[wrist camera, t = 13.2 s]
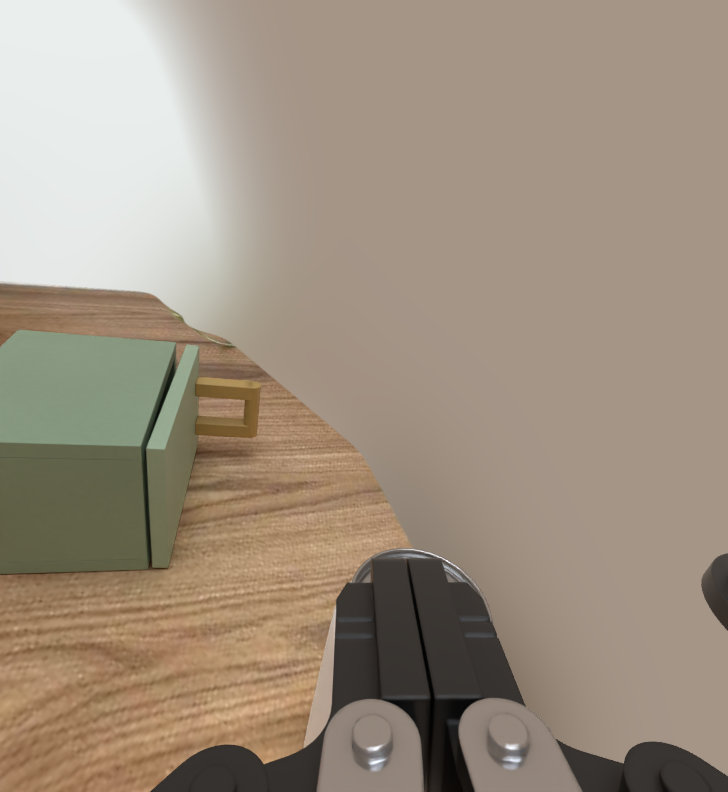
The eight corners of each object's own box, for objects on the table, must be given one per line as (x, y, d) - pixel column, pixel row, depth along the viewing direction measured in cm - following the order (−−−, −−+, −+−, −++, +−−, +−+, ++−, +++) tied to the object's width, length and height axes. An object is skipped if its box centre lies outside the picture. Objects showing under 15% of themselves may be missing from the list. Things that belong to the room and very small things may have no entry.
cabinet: (177, 443, 43) (176, 342, 38) (147, 570, 31) (140, 446, 27) (38, 439, 40) (18, 329, 36) (-51, 576, 29) (-99, 439, 24)
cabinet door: (255, 446, 45) (263, 351, 40) (247, 567, 33) (257, 453, 28) (186, 442, 43) (186, 344, 39) (152, 567, 31) (145, 448, 27)
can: (447, 825, 22) (537, 676, 17) (310, 858, 21) (358, 703, 15) (406, 685, 28) (463, 536, 22) (294, 701, 26) (325, 543, 20)
